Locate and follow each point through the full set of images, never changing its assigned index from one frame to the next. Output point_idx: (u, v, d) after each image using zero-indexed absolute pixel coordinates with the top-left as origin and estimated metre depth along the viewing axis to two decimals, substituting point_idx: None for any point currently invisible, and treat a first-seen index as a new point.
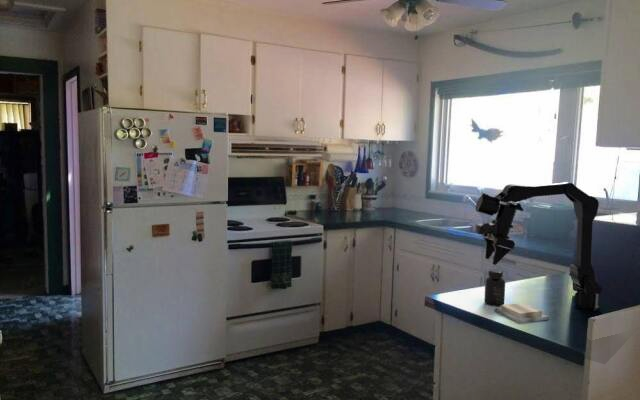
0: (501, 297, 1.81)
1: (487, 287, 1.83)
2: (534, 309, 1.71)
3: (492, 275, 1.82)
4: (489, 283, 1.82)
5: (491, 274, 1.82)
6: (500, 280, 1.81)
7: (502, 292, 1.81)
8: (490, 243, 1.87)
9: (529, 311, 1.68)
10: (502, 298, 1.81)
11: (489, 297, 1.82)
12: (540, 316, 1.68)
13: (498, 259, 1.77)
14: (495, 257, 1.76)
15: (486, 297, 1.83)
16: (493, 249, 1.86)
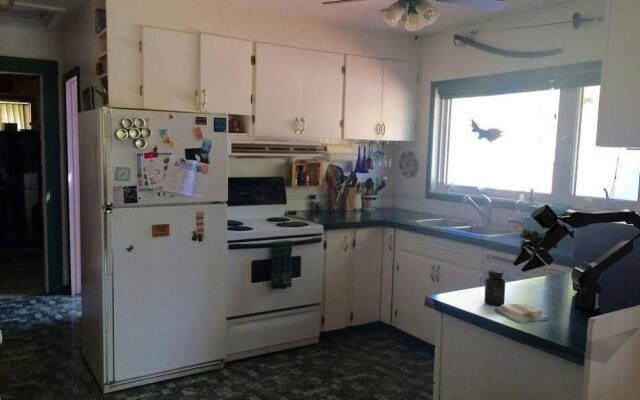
0: (501, 297, 1.81)
1: (487, 287, 1.83)
2: (534, 309, 1.71)
3: (492, 275, 1.82)
4: (489, 283, 1.82)
5: (491, 274, 1.82)
6: (500, 280, 1.81)
7: (502, 292, 1.81)
8: (524, 253, 1.87)
9: (529, 311, 1.68)
10: (502, 298, 1.81)
11: (489, 297, 1.82)
12: (540, 316, 1.68)
13: (528, 268, 1.77)
14: (527, 265, 1.77)
15: (486, 297, 1.83)
16: (524, 260, 1.87)
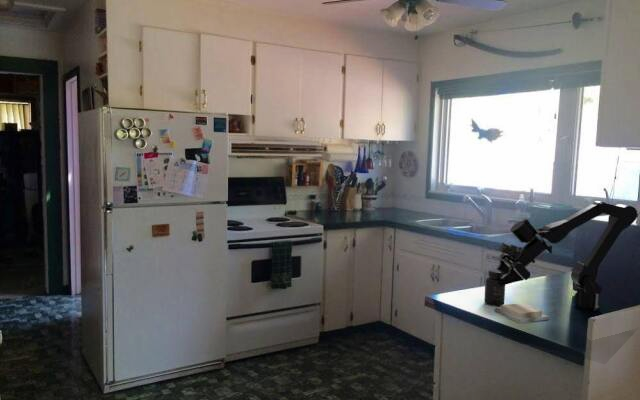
0: (501, 297, 1.81)
1: (487, 287, 1.83)
2: (534, 309, 1.71)
3: (492, 275, 1.82)
4: (489, 283, 1.82)
5: (491, 274, 1.82)
6: (500, 280, 1.81)
7: (502, 292, 1.81)
8: (503, 266, 1.88)
9: (529, 311, 1.68)
10: (502, 298, 1.81)
11: (489, 297, 1.82)
12: (540, 316, 1.68)
13: (506, 282, 1.78)
14: (505, 279, 1.78)
15: (486, 297, 1.83)
16: (503, 273, 1.88)
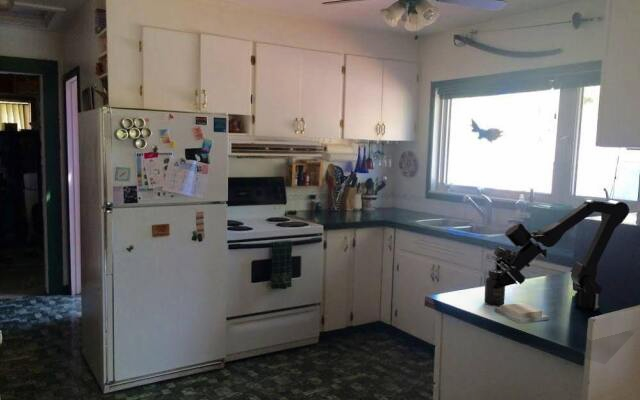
0: (501, 297, 1.81)
1: (487, 287, 1.83)
2: (534, 309, 1.71)
3: (492, 275, 1.82)
4: (489, 283, 1.82)
5: (491, 274, 1.82)
6: None
7: (502, 292, 1.81)
8: None
9: (529, 311, 1.68)
10: (502, 298, 1.81)
11: (489, 297, 1.82)
12: (540, 316, 1.68)
13: (500, 285, 1.79)
14: (498, 282, 1.79)
15: (486, 297, 1.83)
16: None
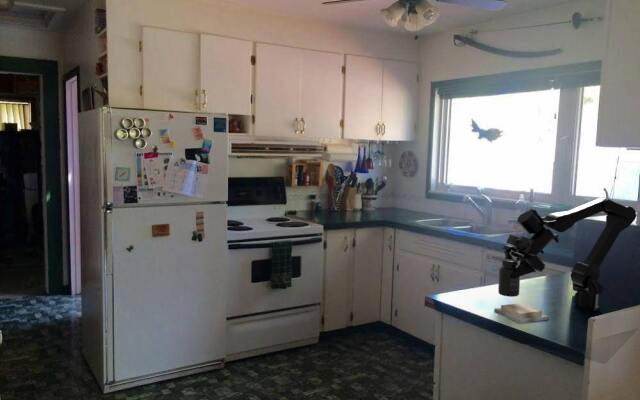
0: (517, 287, 1.74)
1: (503, 277, 1.74)
2: (534, 309, 1.71)
3: (508, 265, 1.74)
4: (505, 273, 1.74)
5: (507, 264, 1.74)
6: None
7: (518, 282, 1.74)
8: None
9: (529, 311, 1.68)
10: (518, 288, 1.74)
11: (506, 288, 1.74)
12: (540, 316, 1.68)
13: (518, 275, 1.72)
14: (516, 272, 1.71)
15: (502, 288, 1.75)
16: None
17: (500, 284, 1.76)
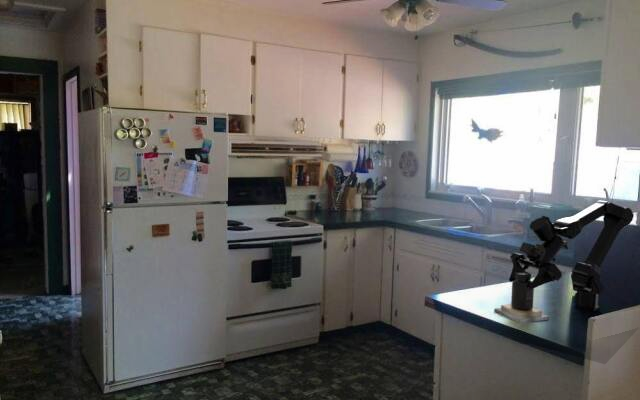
0: (532, 300, 1.69)
1: (518, 291, 1.69)
2: (534, 309, 1.71)
3: (523, 278, 1.68)
4: (521, 287, 1.68)
5: (522, 277, 1.69)
6: None
7: (533, 295, 1.69)
8: (518, 268, 1.76)
9: (529, 311, 1.68)
10: None
11: (521, 302, 1.68)
12: (540, 316, 1.68)
13: (536, 285, 1.66)
14: (535, 282, 1.66)
15: (517, 302, 1.69)
16: None
17: (515, 298, 1.70)
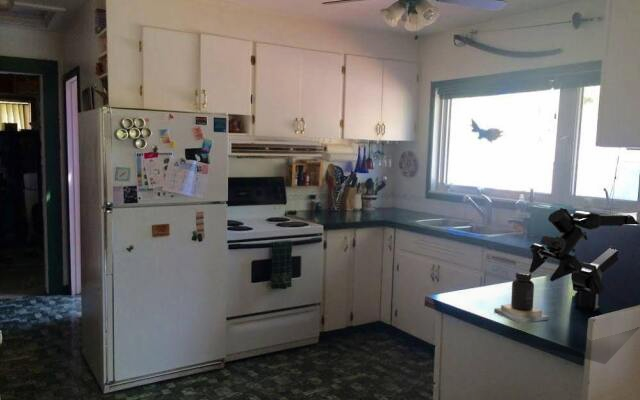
0: (532, 300, 1.69)
1: (518, 291, 1.69)
2: (534, 309, 1.71)
3: (523, 278, 1.69)
4: (521, 287, 1.68)
5: (522, 277, 1.69)
6: (531, 282, 1.69)
7: (533, 295, 1.69)
8: (538, 259, 1.80)
9: (529, 311, 1.68)
10: None
11: (521, 302, 1.68)
12: (540, 316, 1.68)
13: (557, 277, 1.70)
14: (556, 274, 1.70)
15: (517, 302, 1.69)
16: (538, 265, 1.80)
17: (515, 298, 1.70)
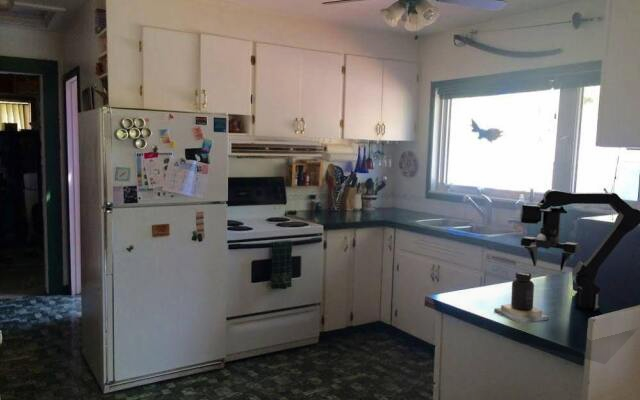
0: (532, 300, 1.69)
1: (518, 291, 1.69)
2: (534, 309, 1.71)
3: (523, 278, 1.69)
4: (521, 287, 1.68)
5: (522, 277, 1.69)
6: (531, 282, 1.69)
7: (533, 295, 1.69)
8: (534, 250, 1.87)
9: (529, 311, 1.68)
10: (532, 301, 1.70)
11: (521, 302, 1.68)
12: (540, 316, 1.68)
13: (564, 264, 1.81)
14: (564, 264, 1.80)
15: (517, 302, 1.69)
16: (536, 254, 1.88)
17: (515, 298, 1.70)
